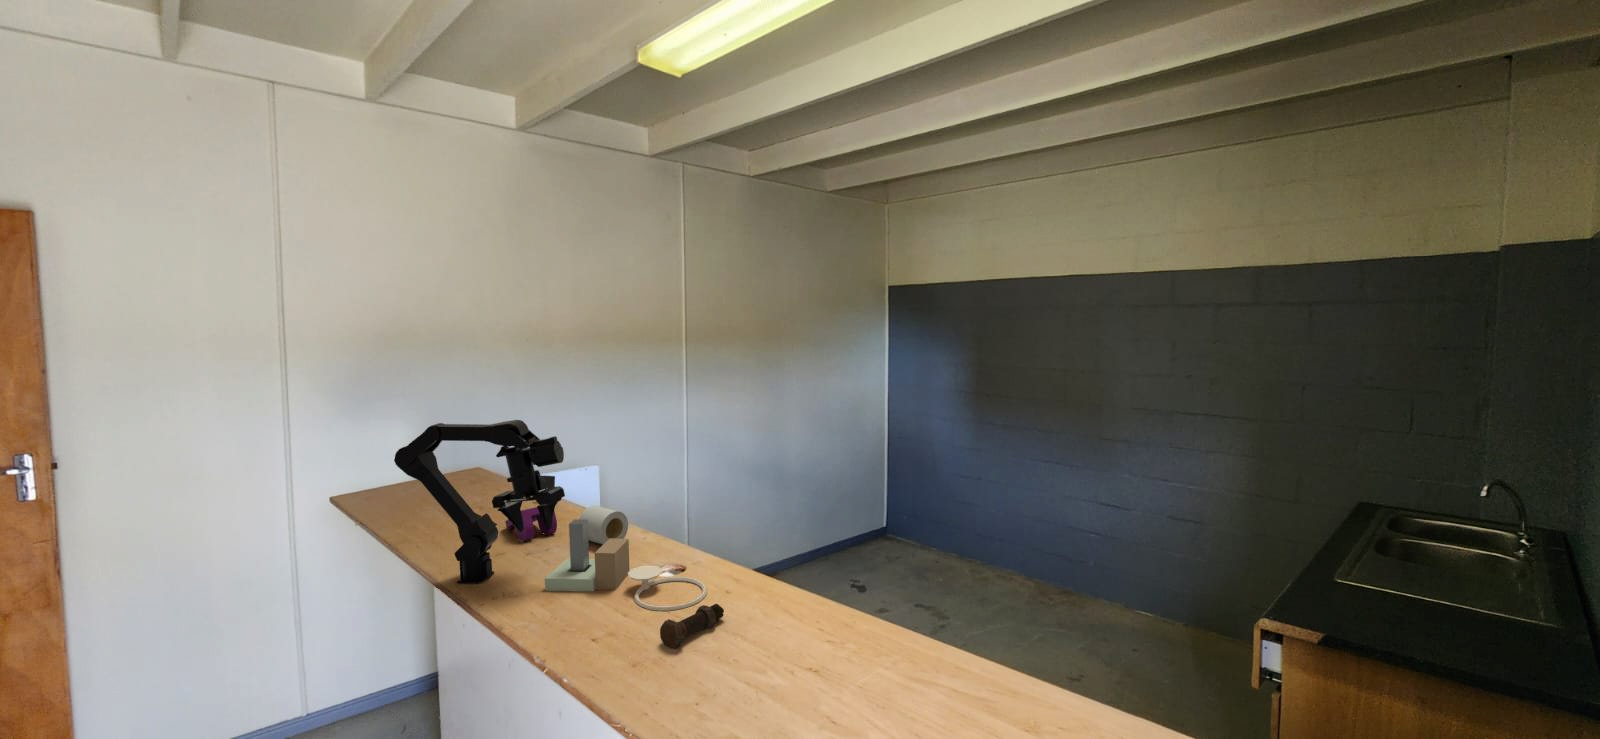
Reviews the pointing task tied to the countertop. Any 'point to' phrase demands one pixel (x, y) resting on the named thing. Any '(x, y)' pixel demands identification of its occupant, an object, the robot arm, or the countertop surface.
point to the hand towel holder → (652, 572)
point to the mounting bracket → (528, 519)
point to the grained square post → (579, 545)
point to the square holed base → (594, 570)
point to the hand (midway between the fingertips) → (535, 529)
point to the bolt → (689, 625)
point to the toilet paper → (604, 524)
